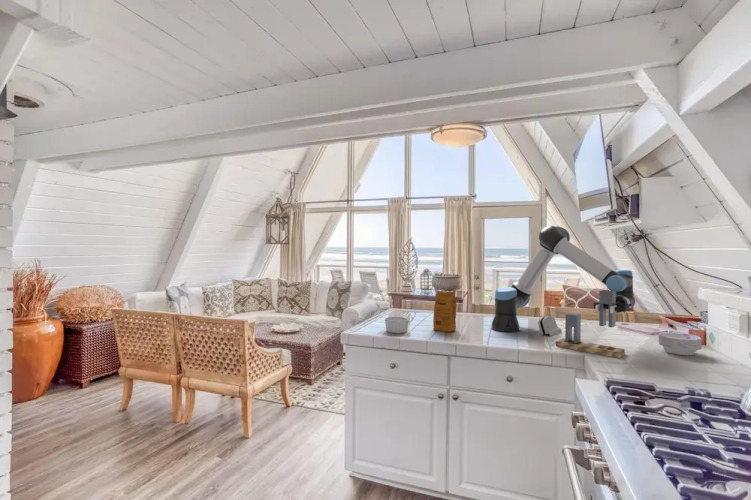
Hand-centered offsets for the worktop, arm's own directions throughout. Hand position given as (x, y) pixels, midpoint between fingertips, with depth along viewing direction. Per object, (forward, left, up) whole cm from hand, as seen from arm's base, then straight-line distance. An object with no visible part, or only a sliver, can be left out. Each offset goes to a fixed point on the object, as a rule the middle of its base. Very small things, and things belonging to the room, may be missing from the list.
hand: (603, 309), depth 164 cm
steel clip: (0, +5, -8) cm, 10 cm away
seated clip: (-14, +5, -20) cm, 25 cm away
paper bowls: (+22, +31, -20) cm, 43 cm away
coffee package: (-76, -11, -20) cm, 80 cm away
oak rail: (-7, +5, -20) cm, 22 cm away
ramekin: (-92, -33, -21) cm, 100 cm away
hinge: (-34, +28, -21) cm, 49 cm away
